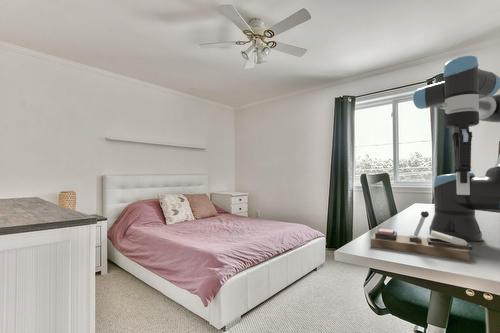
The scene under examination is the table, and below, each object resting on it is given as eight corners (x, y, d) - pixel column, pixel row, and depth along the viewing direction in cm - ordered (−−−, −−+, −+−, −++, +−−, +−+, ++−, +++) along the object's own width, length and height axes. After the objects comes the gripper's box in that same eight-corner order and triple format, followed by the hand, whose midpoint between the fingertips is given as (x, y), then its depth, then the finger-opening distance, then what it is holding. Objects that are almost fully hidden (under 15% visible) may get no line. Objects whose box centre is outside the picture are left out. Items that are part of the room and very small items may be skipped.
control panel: (467, 251, 75) (466, 237, 75) (473, 261, 67) (473, 246, 67) (374, 239, 88) (374, 227, 89) (370, 246, 80) (370, 233, 80)
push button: (393, 236, 83) (393, 229, 83) (392, 238, 79) (392, 232, 79) (380, 234, 85) (379, 228, 85) (378, 237, 82) (378, 230, 82)
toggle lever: (418, 236, 78) (429, 212, 77) (419, 237, 76) (430, 213, 75) (411, 233, 79) (422, 209, 78) (411, 234, 77) (422, 210, 76)
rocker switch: (463, 244, 73) (464, 239, 73) (466, 247, 70) (467, 243, 70) (430, 233, 77) (431, 229, 77) (431, 236, 74) (432, 232, 74)
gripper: (442, 118, 80) (444, 192, 79) (447, 110, 69) (449, 196, 68) (473, 115, 76) (475, 193, 75) (484, 106, 65) (486, 197, 64)
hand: (463, 194), depth 72 cm, fingers closed
